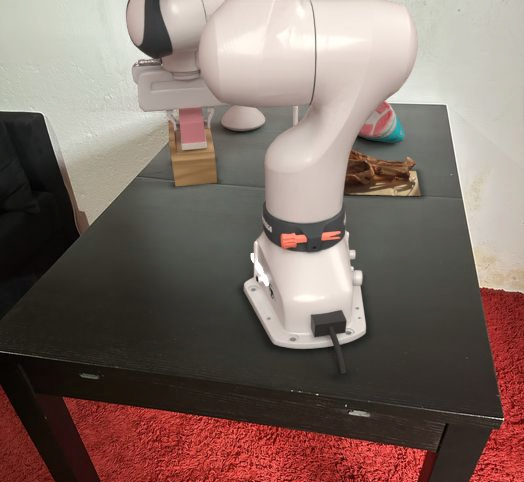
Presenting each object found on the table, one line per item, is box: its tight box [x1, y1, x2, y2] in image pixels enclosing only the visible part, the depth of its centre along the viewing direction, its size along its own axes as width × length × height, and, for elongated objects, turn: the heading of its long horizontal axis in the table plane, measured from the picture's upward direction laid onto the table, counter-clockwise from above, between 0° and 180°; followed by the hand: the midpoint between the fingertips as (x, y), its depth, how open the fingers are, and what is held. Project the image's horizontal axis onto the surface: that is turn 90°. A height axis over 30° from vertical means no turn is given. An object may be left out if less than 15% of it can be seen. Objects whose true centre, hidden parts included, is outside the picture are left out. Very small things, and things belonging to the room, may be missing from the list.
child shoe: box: [178, 108, 207, 150], centre depth 111 cm, size 12×5×5 cm, turn 8°
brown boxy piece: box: [167, 119, 218, 187], centre depth 114 cm, size 13×9×9 cm
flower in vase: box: [220, 105, 266, 132], centre depth 129 cm, size 13×11×25 cm
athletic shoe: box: [357, 100, 406, 144], centre depth 130 cm, size 27×9×12 cm
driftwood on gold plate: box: [343, 148, 422, 197], centre depth 110 cm, size 14×7×28 cm
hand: (192, 129), depth 111 cm, fingers closed on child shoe, 5 cm apart
